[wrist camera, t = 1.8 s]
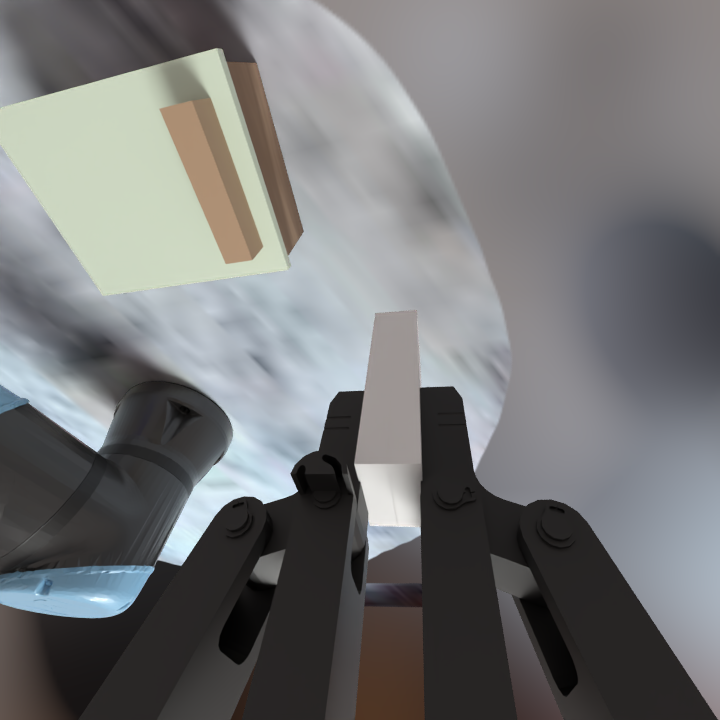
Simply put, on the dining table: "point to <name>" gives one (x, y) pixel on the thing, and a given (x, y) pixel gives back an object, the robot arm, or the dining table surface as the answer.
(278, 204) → the box
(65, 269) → the dining table surface
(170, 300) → the dining table surface
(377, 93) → the dining table surface
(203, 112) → the lid
